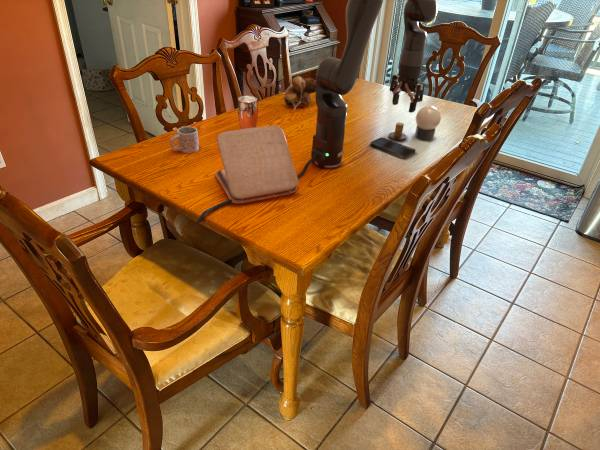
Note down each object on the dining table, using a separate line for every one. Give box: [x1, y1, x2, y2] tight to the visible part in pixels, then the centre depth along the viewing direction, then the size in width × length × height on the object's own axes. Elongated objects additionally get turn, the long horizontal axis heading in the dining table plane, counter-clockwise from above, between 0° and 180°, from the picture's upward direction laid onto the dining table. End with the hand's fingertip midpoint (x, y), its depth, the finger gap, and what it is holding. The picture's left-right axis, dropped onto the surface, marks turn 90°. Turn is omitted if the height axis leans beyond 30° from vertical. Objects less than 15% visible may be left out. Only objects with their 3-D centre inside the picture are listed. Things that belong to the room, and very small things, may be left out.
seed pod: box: [283, 75, 316, 111], centre depth 191 cm, size 13×16×15 cm
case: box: [215, 125, 299, 205], centre depth 130 cm, size 20×21×16 cm
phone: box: [369, 137, 416, 160], centre depth 160 cm, size 8×1×15 cm
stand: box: [414, 124, 437, 142], centre depth 170 cm, size 7×7×4 cm
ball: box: [415, 105, 442, 130], centre depth 167 cm, size 9×9×9 cm
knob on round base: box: [388, 122, 408, 143], centre depth 168 cm, size 7×7×6 cm
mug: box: [169, 126, 200, 154], centre depth 150 cm, size 10×7×7 cm
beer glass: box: [237, 95, 259, 130], centre depth 157 cm, size 7×7×15 cm
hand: (403, 108), depth 163 cm, fingers open, 8 cm apart
